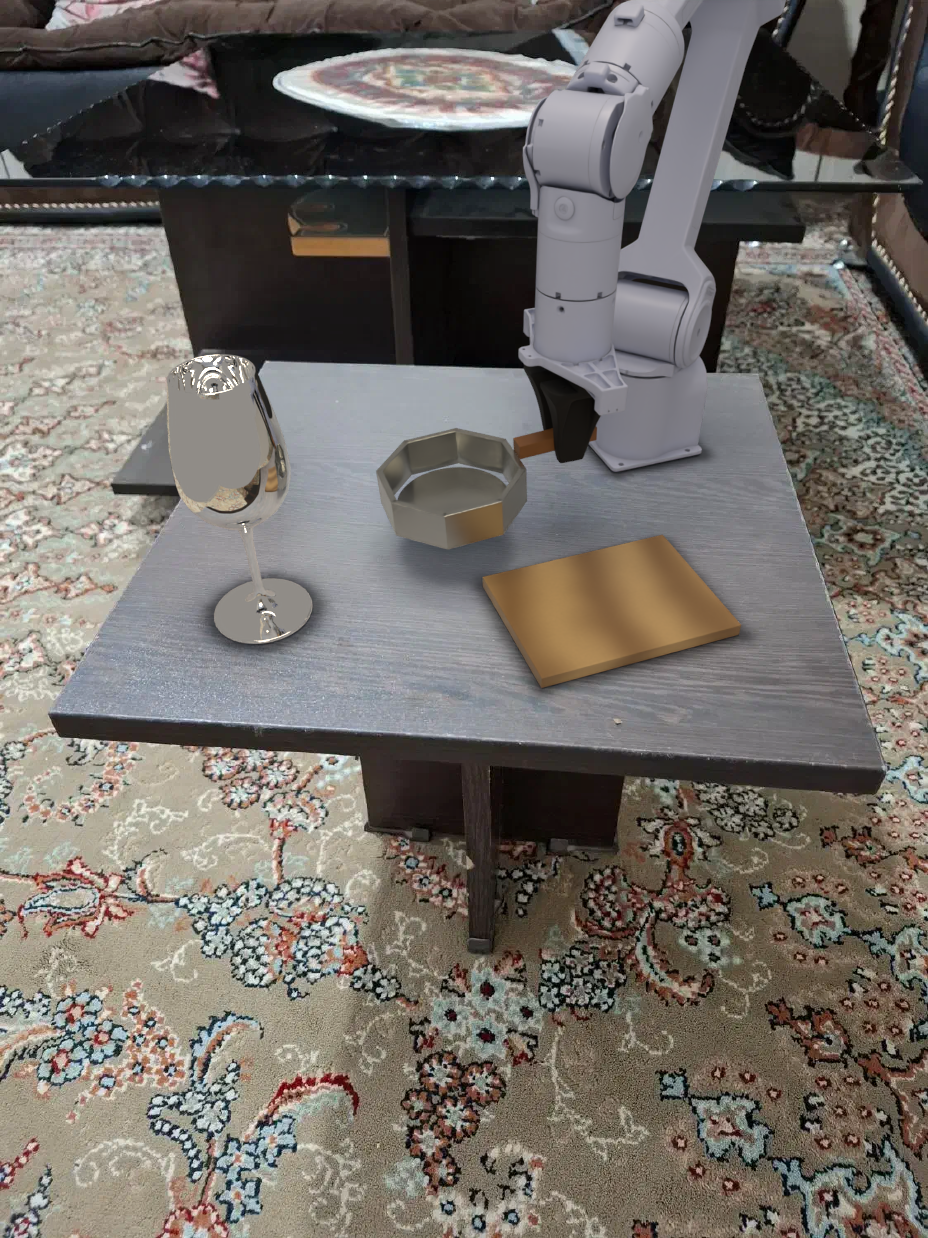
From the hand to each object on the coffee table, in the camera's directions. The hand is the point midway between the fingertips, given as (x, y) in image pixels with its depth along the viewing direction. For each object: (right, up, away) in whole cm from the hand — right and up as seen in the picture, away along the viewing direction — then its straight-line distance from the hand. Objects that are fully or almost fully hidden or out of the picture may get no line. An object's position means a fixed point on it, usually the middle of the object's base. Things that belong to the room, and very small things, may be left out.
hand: (564, 452), depth 72 cm
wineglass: (-24, -13, -3) cm, 27 cm away
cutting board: (+3, -13, -3) cm, 13 cm away
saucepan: (-6, -3, 0) cm, 7 cm away
